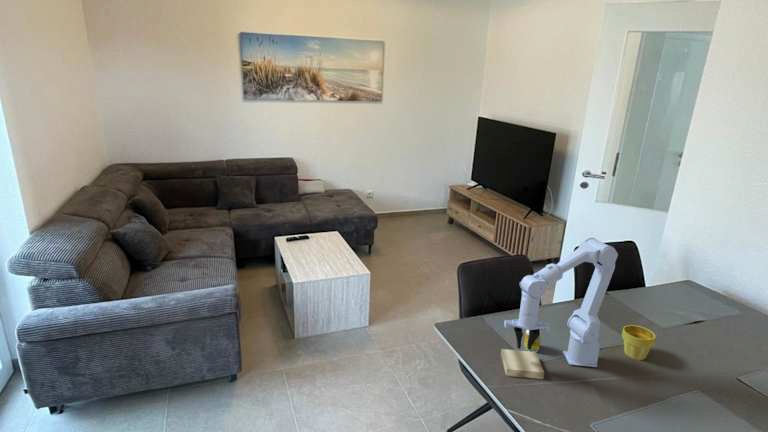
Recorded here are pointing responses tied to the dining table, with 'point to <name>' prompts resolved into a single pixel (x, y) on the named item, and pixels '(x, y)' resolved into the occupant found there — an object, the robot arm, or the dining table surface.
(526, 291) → the robot arm
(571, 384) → the dining table surface
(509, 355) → the oak riser
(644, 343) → the plant pot
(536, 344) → the supplement bottle
